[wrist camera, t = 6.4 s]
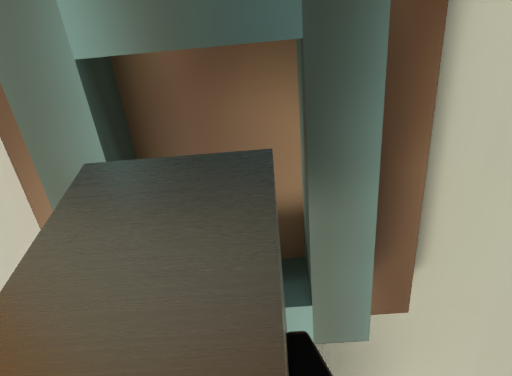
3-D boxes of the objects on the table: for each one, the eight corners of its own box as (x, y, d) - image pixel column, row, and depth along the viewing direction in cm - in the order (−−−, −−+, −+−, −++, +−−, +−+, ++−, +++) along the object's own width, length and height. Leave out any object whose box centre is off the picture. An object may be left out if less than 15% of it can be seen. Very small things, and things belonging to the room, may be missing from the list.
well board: (446, -152, 12) (520, -171, 9) (398, 286, 21) (426, 363, 17) (-65, -95, 13) (-181, -92, 9) (96, 306, 21) (66, 384, 18)
